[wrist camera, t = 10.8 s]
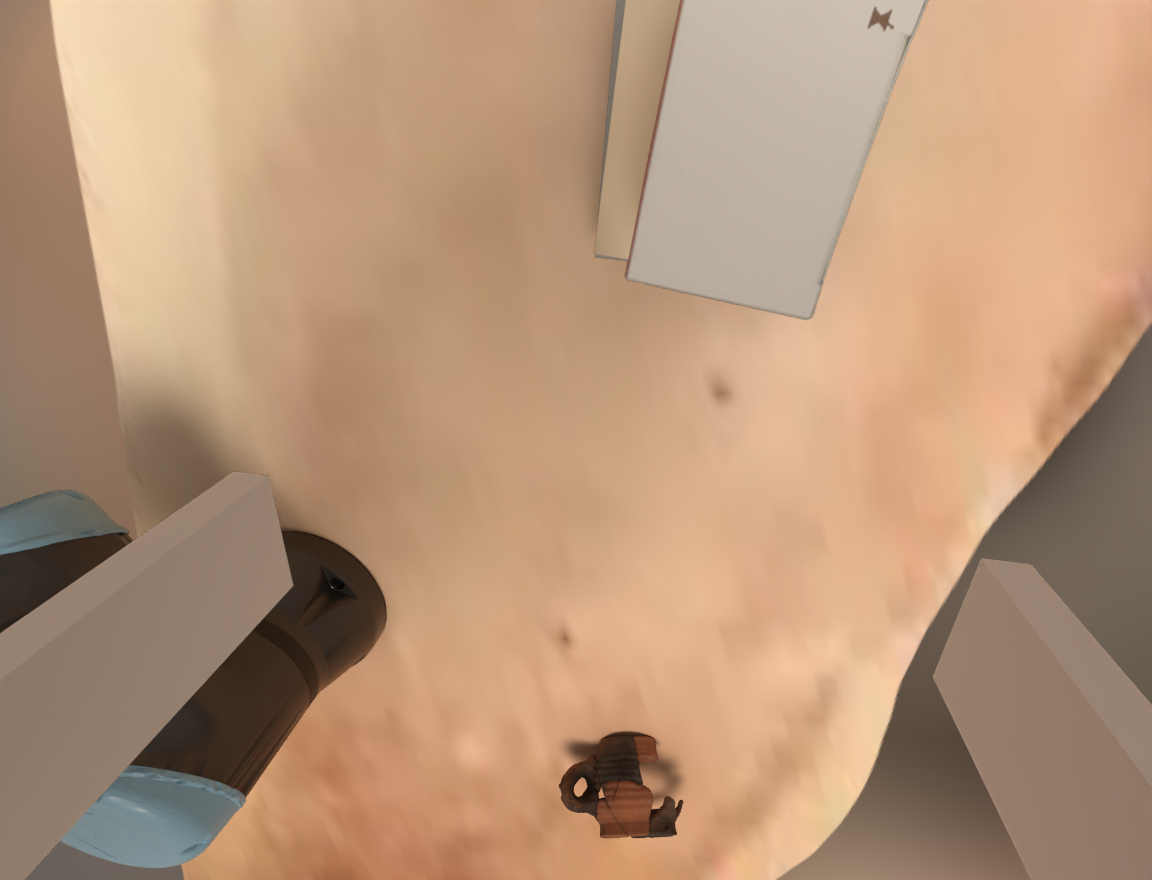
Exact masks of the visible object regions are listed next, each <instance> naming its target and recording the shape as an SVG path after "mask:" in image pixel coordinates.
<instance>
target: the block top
mask: <svg viewBox="0 0 1152 880" xmlns="http://www.w3.org/2000/svg"><path fill="white" fill-rule="evenodd" d="M679 3H680V0H626V3H625V11H624V19H623V27H622V35H621V42H620V50H619V58H618V66H617V74H616V82H615V90H614V98H613V106H612V114H611V122H610V130H609V137H608V145H607V153H606V161H605V169H604V177H603V185H602V193H601V201H600V209H599V217H598V225H597V233H596V240H595V248H594V254H597V255H604V256H610V257H617V258H623V259H628V258H629V253H630V248H631V243H632V238H633V233H634V228H635V223H636V218H637V213H638V207H639V202H640V197H641V192H642V187H643V182H644V176H645V171H646V166H647V161H648V155H649V150H650V146H651V141H652V136H653V131H654V126H655V121H656V116H657V111H658V107H659V102H660V97H661V92H662V87H663V82H664V77H665V72H666V67H667V63H668V58H669V53H670V48H671V43H672V38H673V33H674V28H675V23H676V18H677V13H678V8H679Z"/></svg>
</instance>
